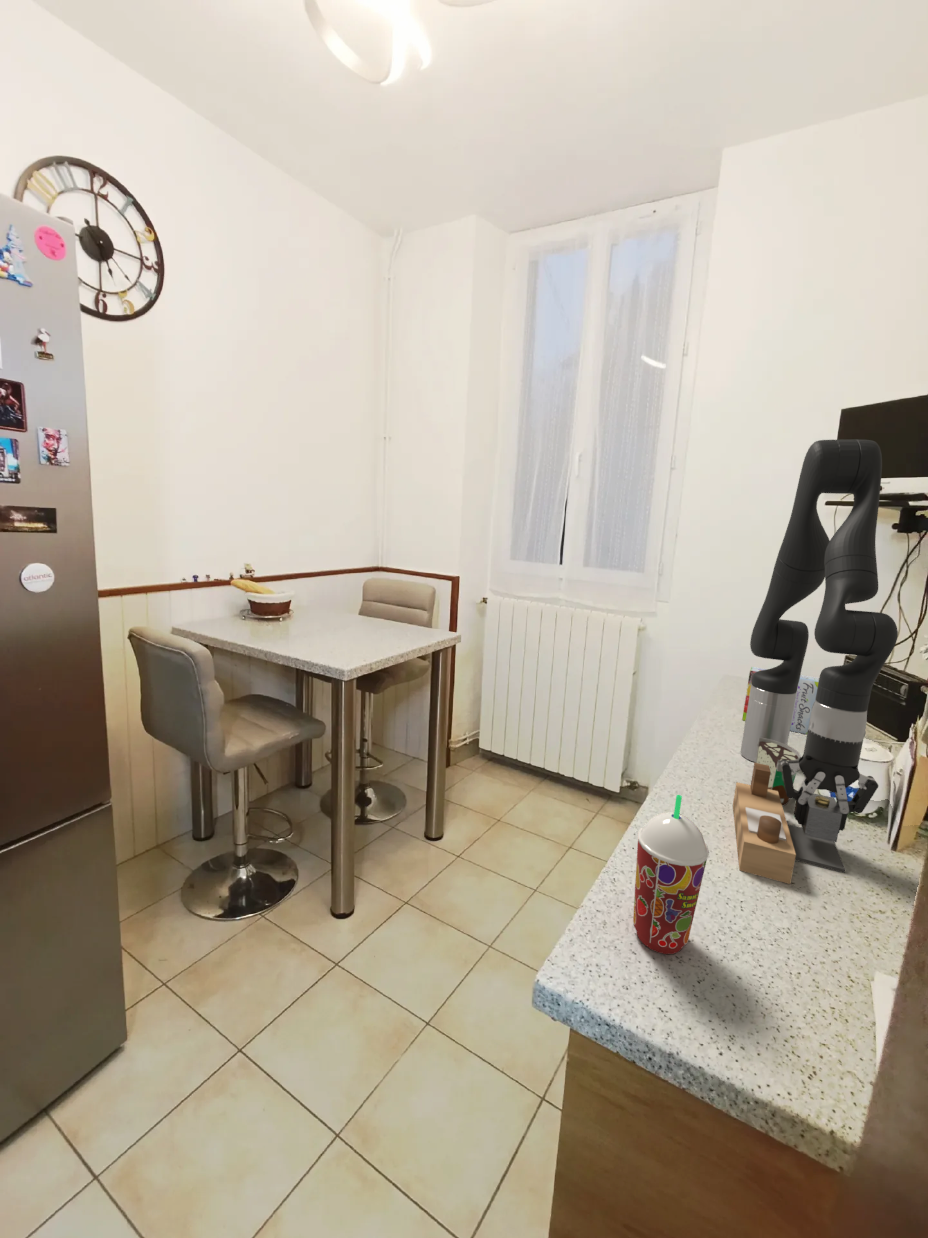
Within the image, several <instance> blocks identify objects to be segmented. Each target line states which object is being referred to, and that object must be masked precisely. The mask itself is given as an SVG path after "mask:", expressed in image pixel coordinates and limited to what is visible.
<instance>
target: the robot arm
mask: <svg viewBox="0 0 928 1238" xmlns="http://www.w3.org/2000/svg"><path fill="white" fill-rule="evenodd" d="M882 455H883V454H882V450H881V447H880V445H879V444H878V443H877V442H876V441H874V440H871V439H870V440H869V439H822V440H815V441H814V442H813V443H812V444H811V445H809V447H808V450H807V451H806V453H805V456H804V459H803V462H802V467H801V469H800V475H799V478H798V483H797V488H796V492H795V497H794V502H793V505H792V511H791V513H790V518H789V520H788V524H787V526H786V531H785V533H784V537H783V540H782V542H781V545H780V548H779V550H778V553H777V557H776V560H775V562H774V567H773V571H772V574H771V579H770V583H769V586H768V589H767V593H766V596H765V599H764V601H763V604H762V606H761V608H760V611H759V613H758V616H757V619H756V621H755V624H754V626H753V628H752V631H751V636H750V643H749V645H750V651H751V653H752V654H753V655H754V656H756V657H757V658H758V657H759V658H761V659H768V660H769V659H770V660H777V661H782V662H781V663H780V664H779V665H777V666H774V667H771V668H768V669H767V668H766V669H767V670H761V671H757V672H755V673H754V674H753V677H752V683H751V689H750V696H749V702H748V708H747V714H746V720H745V721H744V727H743V733H742V739H741V744H740V745H741V746H740V751H739V753H740V755H741V756H742V757H743V758H744V759H747V760H749V761H751V762H753V763H756V758H757V750H758V746H757V743H758V740H759V738H765V739H770V740H774V741H778V742H781V743H783V744H786V745H788V743H789V738H790V732H791V731H790V727H791V721H792V716H793V710H794V704H795V699H796V693H797V687H798V683H799V679H800V675H802V673H801V672H802V670H803V669H802V668H803V665H804V661H805V656H806V654H807V648H808V644H809V637H810V636H809V635H810V634H809V628H808V626H807V624H806V623H804V622H803V621H800V620H799V621H798V620H789V619H781V618H782V617H783V615H784V614H785V613H786V612H788V611H789V610H790V609H791V608H793V607H794V606H795V605H797V604H798V603H800V602H801V601H803V600H805V599H807V597H809V596H810V595H812V594H813V593H814V592H815V591H816V590H818V589H819V588H820V586H821V585H822V584H823V582H824V581H825V582H824V585H825V589H824V595H823V596H824V597H823V601H822V604H821V607H820V611H819V615H818V617H817V620H816V624H815V626H814V639H815V642H816V644H817V645H818V646H819V647H820V649H822V650H823V651H825V652H826V653H827V652H828V653H832V654H841V655H851V656H855V657H854V659H852V660H851V662H849V663H847V664H843V665H833V666H827V667H824V668H823V669H822V670H821V672H820V675H819V677H818V678H819V682H818V688H817V694H816V700H815V703H814V706H813V708H812V711H811V716H810V721H809V727H808V732H807V734H806V739H805V744H804V750H803V753H802V755H801V756H800V757H801V758H800V759H799V761H787V760H785V759H783V760H781V762H780V763H781V769H782V775H783V781H784V787H785V791H786V795H787V797H788V798H789V799H792V800H794V801H795V803H794V809H793V816H794V820H795V821H797V823H798V825H803V824H804V818H805V813H806V808H807V805H806V802H807V801H808V799H809V798H810V796H811V795H813V794H815V792H816V790H822V791H823V790H826V791H827V792H831V793H834V795H835V801H836V803H837V805H838V807H839V809H840V811H841V813H842V818H841V822H840V827H839V832H838V834H839V833H840V831H841V832H842V831H844V830H845V828H846V823H847V818H848V815H849V814H850V813H857V814H862V813H863V811H864V810H865V808H866V807H867V806H868V804H869V803H870V801H871V799H872V798H873V796H874V795H875V793H876V791H877V789H878V788H879V784H878V782H877V781H876V780H875V778H874V777H873V776H872V775H864V774H862V773H861V772H860V771H859V763H860V759H861V752H862V749H863V742H864V739H865V736H866V733H867V732H866V729H867V722H868V721H867V720H868V719H867V718H868V717H867V715H868V709H869V704H870V699H871V694H872V689H873V686H874V684H875V682H876V680H877V678H878V676H879V675H880V672H881V670H882V669H883V666H885V664H886V662H887V660H888V659H889V656H890V655H891V654H892V652H893V650H894V649H895V646H896V645H897V641H898V635H899V634H898V633H899V632H898V626H897V624H896V622H895V620H894V619H893V617H891V615H889V614H887V613H884V612H878V611H877V612H876V611H866V610H865V611H864V610H854V609H852V610H851V609H846V605H848V604H856V603H862V602H865V601H869V600H871V599H873V598H875V597H876V595H877V594H878V591H879V576H878V575H879V573H878V564H877V562H878V561H877V554H876V551H877V550H876V549H877V547H876V533H877V523H878V515H879V506H880V496H881V495H880V494H881V483H882V473H883V472H882V470H883V457H882ZM821 494H835V495H836V494H837V495H838V494H845V495H846V494H848V495H851V494H852V495H853V506H852V508H851V510H850V512H849V513H848V515H847V517H846V519H845V520H844V521H843V522H842V523H841V525H840V526H839V527H838V529H837V530H836V532H834V534H833V535H832V537H831V539H830V538H829V536H828V534H827V532H826V530H825V528H824V526H823V524H822V522H821V519H820V515H819V513H818V508H817V506H818V500H819V498H820V495H821ZM799 768H800V771H801V772H802V774H803V776H804V779H803V780H802V781H801V785H800V787H799V788H798V789H795V788H794V783H793V781H792V775H795V774H796V775H797V773H796V770H797V769H799ZM857 781H858V782H857ZM855 782H857V786H858V789H857V790H856V792H855V794H854V795H853V797H852V799H851V800H848V796H847V790H846V789H847V788H849V786H851V785H853V784H854V783H855Z"/></svg>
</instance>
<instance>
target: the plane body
mask: <svg viewBox="0 0 928 1238" xmlns="http://www.w3.org/2000/svg"><path fill="white" fill-rule="evenodd" d="M753 763H754V764H753V767H752V768H753V770H752V776H751V781H750V784H747V783H742V782H737V781H736V783H735V788H734V794H733V800H732V801H733V802H732V813H733V821H734V831H735V832H734V834H735V840H736V841H735V842H736V851H737V859H738V862H737V863H738V869H739V871H741V872H745V873H746V874H751V875H756V876H759V877H762V878H766V879H770V880H774V881H777V882H780V883H785V884H788V885H791V882H792V878H793V872H794V866H795V861H796V860H795V857H796V853H795V850H794V846H793V843H792V839H791V836H790V832H789V829H788V825H787V824H788V822H787V818H786V816H785V811H784V808H783V807H784V806H782V804H781V800H780V797H779V793H778V791H775V790H771V789H768V785H769V779H770V773H771V771H770V768H769V765H764V764H759V763H756V762H753Z"/></svg>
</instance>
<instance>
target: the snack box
mask: <svg viewBox="0 0 928 1238" xmlns="http://www.w3.org/2000/svg"><path fill="white" fill-rule="evenodd" d="M761 670H767V668H761V667H754V666H751V667H750V670H749V674H748V678H747V679H748V680H747V685H746V687H747V688H746V694H745V699H744V705H743V712H742V719H741V720H742V721H744V722H745V720H746V714H747V708H748V702H749V696H750V689H751V683H752V677H753V674H754V673H755V672H757V671H761ZM818 682H819V677H816V676H810V675H803V674H801V675H800V679H799V683H798V687H797V693H796V699H795V704H794V710H793V716H792V721H791V727H790V732H795V733H800V734H804V735H807V732H808V727H809V721H810V716H811V711H812V708H813V706H814V703H815V700H816V694H817V688H818Z"/></svg>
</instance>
